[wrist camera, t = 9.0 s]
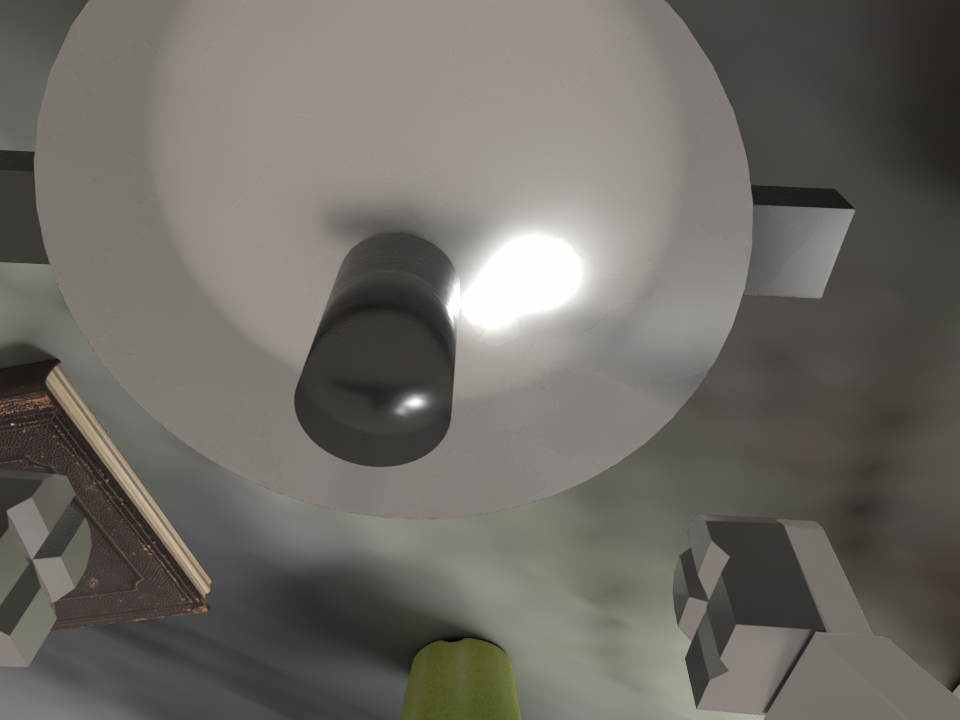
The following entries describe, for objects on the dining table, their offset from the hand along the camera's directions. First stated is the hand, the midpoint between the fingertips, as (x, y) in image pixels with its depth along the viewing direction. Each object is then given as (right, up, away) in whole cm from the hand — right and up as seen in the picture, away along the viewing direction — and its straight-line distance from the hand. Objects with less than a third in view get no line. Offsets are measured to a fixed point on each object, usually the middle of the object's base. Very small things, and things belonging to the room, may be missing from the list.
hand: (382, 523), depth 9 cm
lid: (0, +4, +6) cm, 7 cm away
